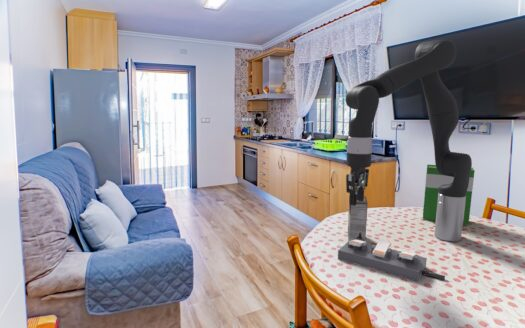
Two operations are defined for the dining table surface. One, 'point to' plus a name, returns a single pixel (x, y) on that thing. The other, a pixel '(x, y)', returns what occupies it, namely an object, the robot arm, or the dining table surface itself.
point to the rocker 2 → (381, 248)
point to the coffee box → (357, 220)
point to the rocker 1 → (356, 242)
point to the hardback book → (431, 193)
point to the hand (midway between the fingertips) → (356, 202)
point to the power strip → (386, 261)
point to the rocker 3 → (407, 255)
